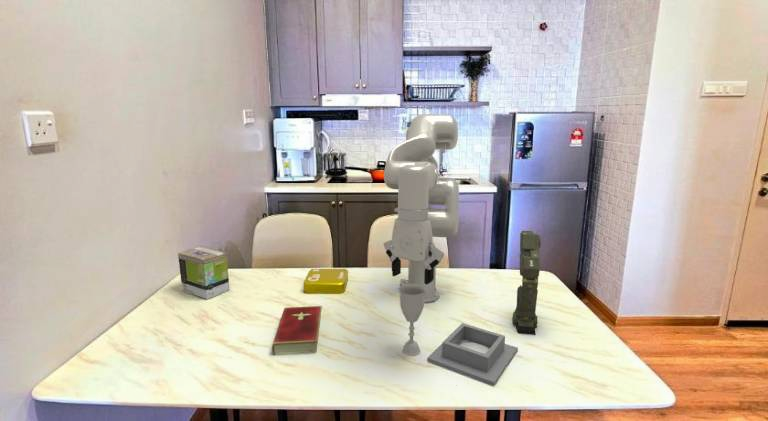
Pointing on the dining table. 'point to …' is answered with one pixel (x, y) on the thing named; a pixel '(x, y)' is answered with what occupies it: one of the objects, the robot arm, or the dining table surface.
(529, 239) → the mechanical leg
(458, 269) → the dining table surface
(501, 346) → the housing
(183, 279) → the tea box
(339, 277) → the element tile
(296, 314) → the hardcover book
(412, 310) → the chalice
